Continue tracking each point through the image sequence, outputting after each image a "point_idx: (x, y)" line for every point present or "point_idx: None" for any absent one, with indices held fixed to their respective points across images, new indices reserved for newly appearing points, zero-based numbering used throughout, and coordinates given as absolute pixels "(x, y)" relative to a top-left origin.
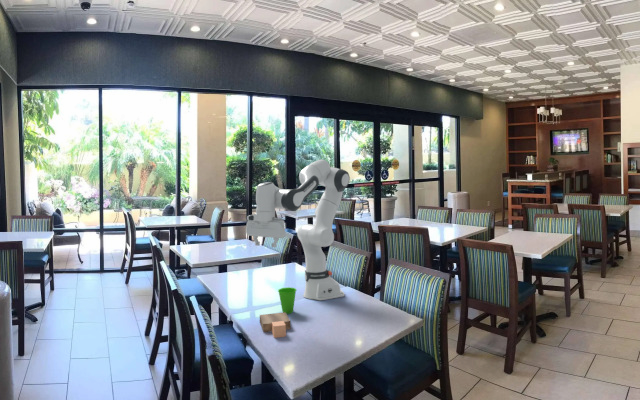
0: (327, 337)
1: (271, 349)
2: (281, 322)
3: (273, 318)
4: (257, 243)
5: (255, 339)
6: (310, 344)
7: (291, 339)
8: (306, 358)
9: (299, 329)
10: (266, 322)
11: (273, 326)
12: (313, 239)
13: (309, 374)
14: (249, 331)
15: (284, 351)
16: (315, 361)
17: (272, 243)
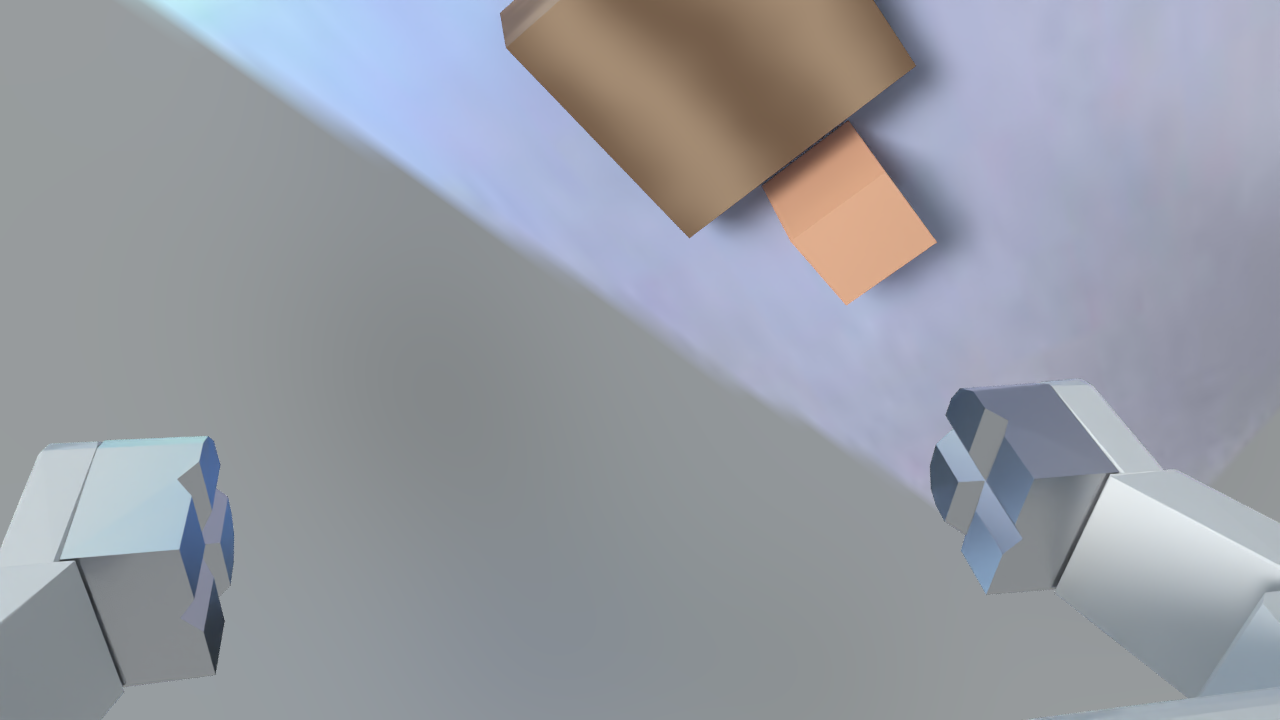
0: (1246, 68)
1: (873, 391)
2: (880, 211)
3: (715, 76)
4: (218, 624)
5: (688, 326)
6: (1121, 230)
7: (960, 217)
8: (1121, 390)
9: (973, 9)
10: (700, 195)
11: (836, 292)
12: None
13: None
14: (546, 232)
15: (966, 378)
16: (1177, 396)
17: (1015, 578)
